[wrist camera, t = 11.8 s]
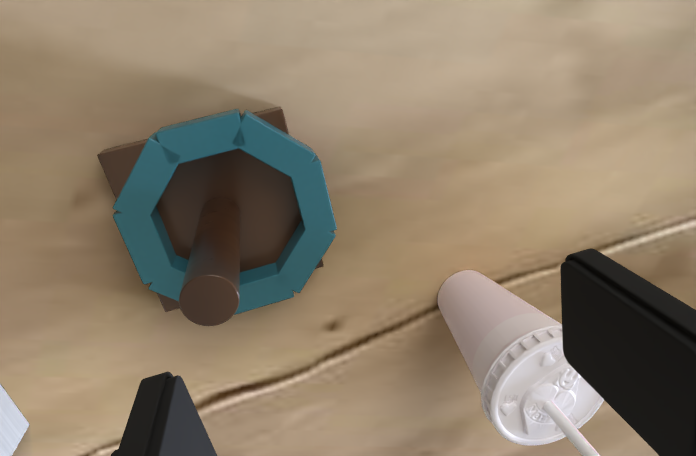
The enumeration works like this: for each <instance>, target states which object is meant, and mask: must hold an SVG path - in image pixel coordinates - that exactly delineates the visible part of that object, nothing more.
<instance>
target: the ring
mask: <svg viewBox="0 0 696 456" xmlns="http://www.w3.org/2000/svg"><path fill="white" fill-rule="evenodd" d="M235 149H240V150H242V151H244V152H245V153H247V154H249V155H251V156H253V157H255V158H256V159H258V160H260V161H262V162H264V163H265V164H267V165H269V166H271V167H273V168H274V169H276V170H278V171H280V172H282V173H283V174H285V175H287V176H289V177H290V179H291V183H292V186H293V190H294V194H295V197H296V201H297V204H298V208H299V212H300V215H301V219H302V220H301V222H300V224H299V225H298V227H297V228H296V230H295V232H294V233H293V235H292V237H291V238H290V240H289V241H288V243H287V245H286V246H285V248H284V250H283V251H282V253H281V255H280V256H279V258H278V259H277V261H276V262H275V263H272V264H268V265H265V266H261V267H258V268H254V269H251V270H247V271H244V272H240V295H239V306H238V309H237V311H236V312H235V314H239V313H242V312H245V311H249V310H252V309H255V308H259V307H262V306H265V305H269V304H272V303H276V302H279V301H282V300H286V299H289V298H292V297H294V292H293V291H295V292H297V293H300V291H301V290H302V288H303V287H304V285H305V283H306V282H307V280H308V279H309V277H310V276H311V274H312V272H313V271H314V269H315V268H316V266H317V265H318V263H319V261H320V260H321V258H322V257H323V255H324V254H325V252H326V250H327V249H328V247H329V246H330V244H331V242H332V241H333V239H334V238H335V236H336V235H335V233H334V230H337V227H336V223H335V219H334V214H333V210H332V206H331V202H330V198H329V194H328V190H327V186H326V182H325V178H324V174H323V169H322V165H321V161H320V160H319V158H318V157H317V155H316V154H315V153H314V152H313V150H312V149H311V148H310V147H308V146H307V145H305V144H303V143H302V142H300V141H298V140H296V139H295V138H293V137H291V136H290V135H288V134H286V133H285V132H283V131H281V130H280V129H278V128H276V127H274V126H273V125H271V124H269V123H268V122H266V121H264V120H263V119H261V118H259V117H257V116H256V115H254V114H252V113H251V112H249V111H247V110H245V111H244V113H243V115H242V116H241V114H240V111H239V109H234V110H230V111H226V112H222V113H218V114H214V115H210V116H206V117H202V118H198V119H194V120H190V121H186V122H182V123H178V124H174V125H170V126H166V127H162V128H160V129H159V130H158V131H157V132H156V133H154V134H153V135H151V136H150V137H149V138H148V140H147V142H146V144H145V146H144V148H143V150H142V152H141V154H140V156H139V158H138V159H137V161H136V163H135V165H134V167H133V169H132V171H131V173H130V175H129V177H128V179H127V181H126V183H125V185H124V187H123V189H122V191H121V193H120V195H119V197H118V198H117V200H116V202H115V204H114V206H113V209H115V210H117V211H116V212H115V213H114V214H113V218H114V220H115V222H116V224H117V227H118V229H119V231H120V233H121V235H122V238H123V240H124V242H125V244H126V247H127V249H128V251H129V253H130V255H131V258H132V260H133V262H134V264H135V267H136V269H137V271H138V273H139V276H140V278H141V280H142V282H143V284H148V283H151V284H150V286H149V290H152V291H154V292H157V293H159V294H162V295H164V296H167V297H169V298H171V299H174V300H176V301H179V296H180V292H181V288H182V284H183V280H184V276H185V272H186V268H187V264H188V260H187V259H184V258H182V257H180V256H178V255H176V253H175V251H174V248H173V246H172V243H171V241H170V239H169V236H168V234H167V231H166V229H165V226H164V224H163V221H162V219H161V216H160V214H159V211H158V209H157V206H156V205H157V203H158V201H159V200H160V198H161V196H162V194H163V192H164V190H165V188H166V187H167V185H168V183H169V181H170V179H171V177H172V175H173V173H174V172H175V170H176V168H177V166H178V164H180V163H184V162H188V161H192V160H196V159H200V158H204V157H208V156H212V155H215V154H219V153H223V152H227V151H231V150H235ZM235 314H234V315H235Z"/></svg>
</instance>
